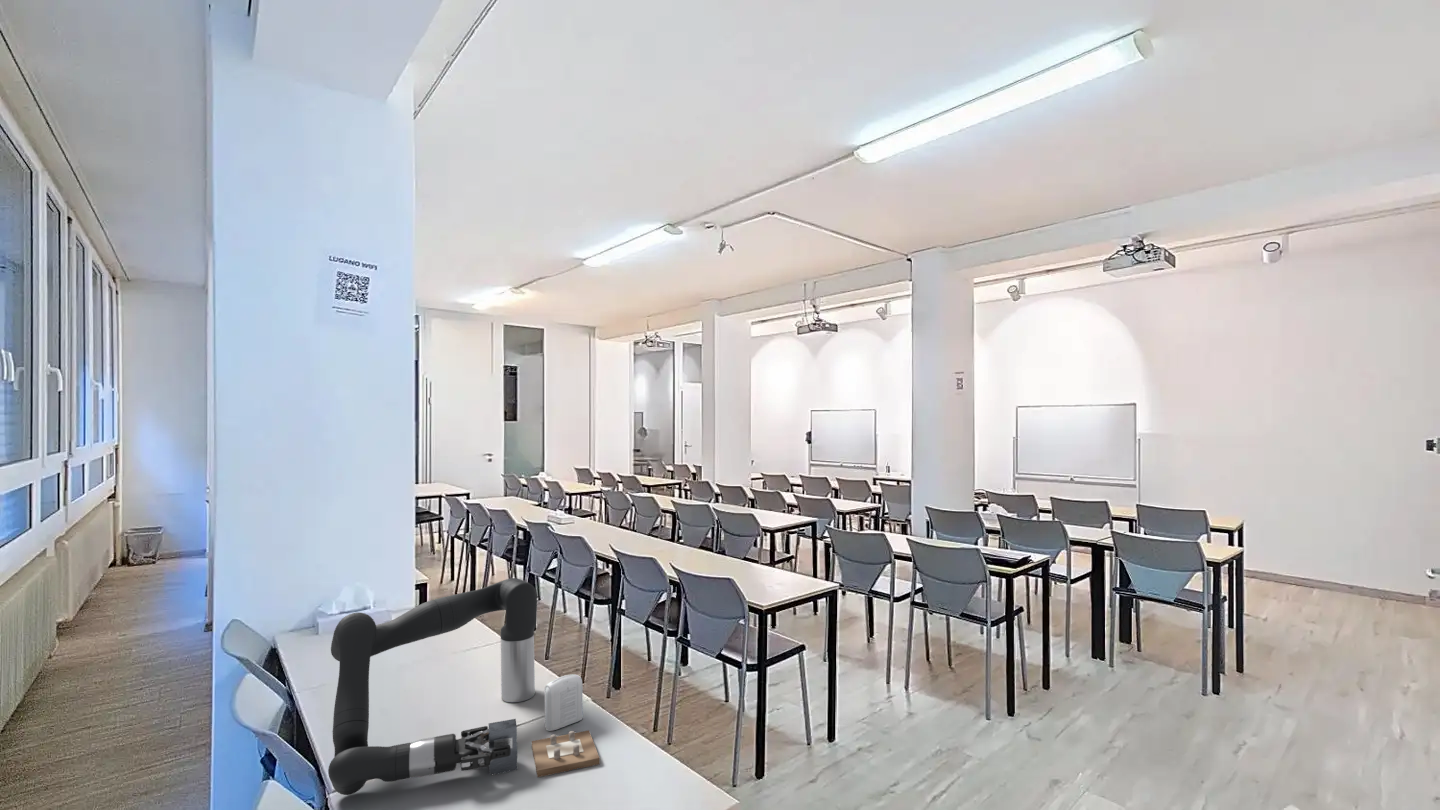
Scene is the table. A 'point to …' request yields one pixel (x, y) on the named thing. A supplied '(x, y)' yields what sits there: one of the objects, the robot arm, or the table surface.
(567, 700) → the photo printer
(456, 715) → the table surface
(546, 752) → the pin tray
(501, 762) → the block
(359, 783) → the robot arm
